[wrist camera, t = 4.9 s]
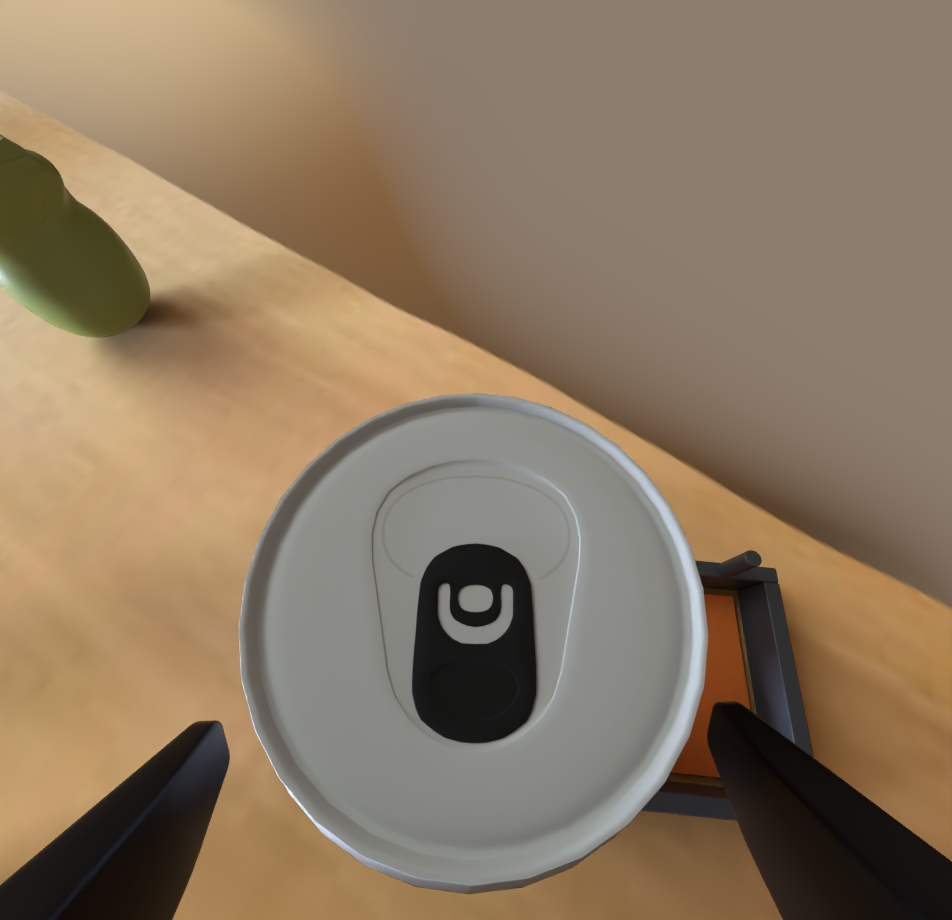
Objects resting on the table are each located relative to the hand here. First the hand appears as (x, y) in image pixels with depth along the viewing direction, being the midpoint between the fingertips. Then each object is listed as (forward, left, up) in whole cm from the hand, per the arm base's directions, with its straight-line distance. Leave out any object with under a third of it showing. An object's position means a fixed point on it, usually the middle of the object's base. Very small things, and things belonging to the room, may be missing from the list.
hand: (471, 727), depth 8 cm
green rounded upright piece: (-7, +27, -10) cm, 30 cm away
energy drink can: (+1, +1, -10) cm, 11 cm away
